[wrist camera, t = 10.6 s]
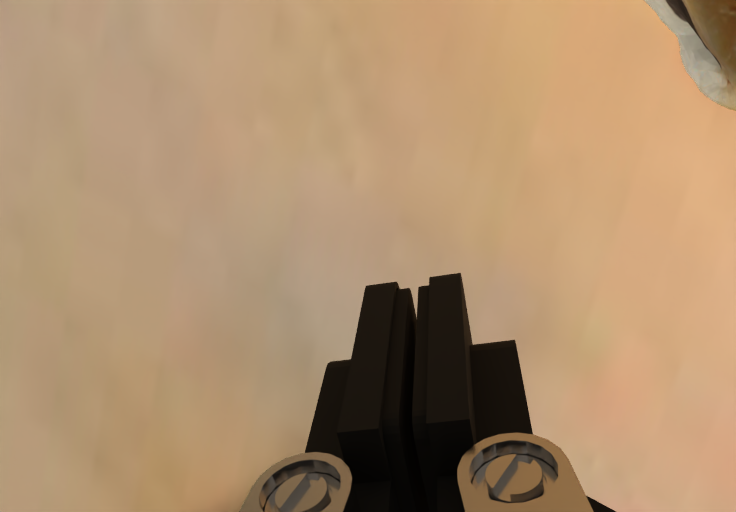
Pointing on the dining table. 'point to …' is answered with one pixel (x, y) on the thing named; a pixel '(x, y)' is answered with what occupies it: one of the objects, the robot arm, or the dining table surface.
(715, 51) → the pastry
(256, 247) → the dining table surface
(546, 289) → the dining table surface
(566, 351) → the dining table surface
